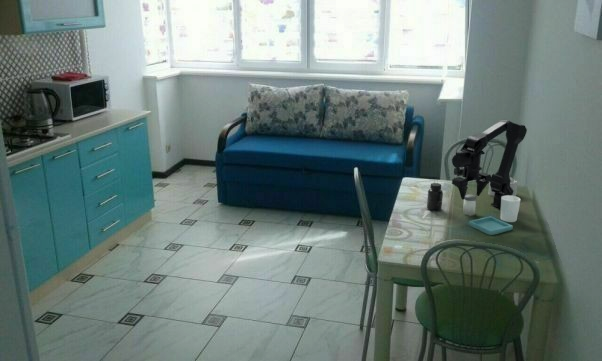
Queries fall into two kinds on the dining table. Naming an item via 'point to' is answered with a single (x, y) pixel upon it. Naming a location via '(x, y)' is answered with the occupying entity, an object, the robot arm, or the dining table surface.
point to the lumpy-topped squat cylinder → (512, 184)
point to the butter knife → (425, 214)
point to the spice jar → (469, 204)
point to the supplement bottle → (435, 197)
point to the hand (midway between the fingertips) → (470, 197)
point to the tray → (490, 225)
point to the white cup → (509, 208)
